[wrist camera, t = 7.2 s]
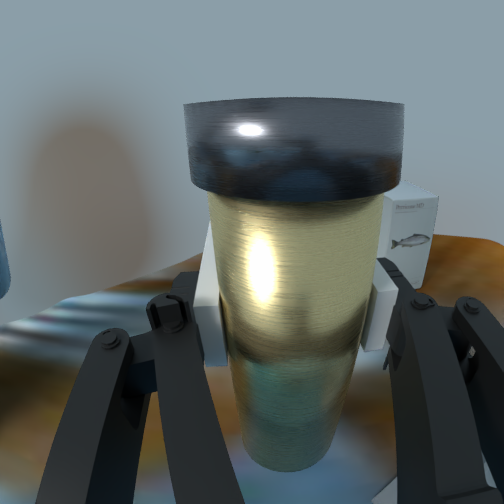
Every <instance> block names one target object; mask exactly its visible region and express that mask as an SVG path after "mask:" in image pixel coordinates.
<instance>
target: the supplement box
mask: <svg viewBox="0 0 504 504" xmlns="http://www.w3.org/2000/svg"><path fill="white" fill-rule="evenodd" d="M438 200H439V196H437V195H435V194H433V193H431V192H429V191H427V190H425V189H422V188H420V187H418V186H416V185H414V184H411V183H409V182H407V181H400V183H399V185H398V186H396V187H395V188H394V189H392V190H390V191H387V192H385V193H384V202H383V211H382V220H381V229H380V236H379V244H378V251H377V257H376V258H382V257H385V258H387V259H389V260H390V261H392V262H393V263H395V265H396V266H397V267H398V269H399V271H401V272H402V274H403V275H404V276H405V278H406V279H407V280H408V281H409V283H410V284H411V285H412V287H413V288H414V289H417V288H421V286H422V282H423V278H424V274H425V270H426V265H427V261H428V256H429V252H430V247H431V242H432V237H433V231H434V226H435V220H436V214H437V207H438Z"/></svg>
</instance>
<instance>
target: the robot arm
mask: <svg viewBox="0 0 504 504" xmlns="http://www.w3.org/2000/svg"><path fill="white" fill-rule="evenodd" d="M10 281H11V276H10V270H9V264H8V258H7V253H6V248H5V243H4V238H3V233H2V227H1V221H0V299H1V298H3V297H4V296H5V294H6V293H7V292H8V290H9V287H10ZM146 312H147V315H148V318H149V321H150V324H151V328H152V330H151V331H150V332H147V333H144V334H141V335H137V336H133V337H129V335H128V333H127V332H126V331H125V330H123V329H119V328H112V329H107V330H105V331H102V332H101V333H99V334H98V335H97V336H96V337H95V338H94V340H93V341H92V344H91V346H90V348H89V350H88V353H87V355H86V357H85V360H84V362H83V364H82V367H81V369H80V371H79V374H78V376H77V379H76V381H75V384H74V386H73V389H72V391H71V394H70V396H69V399H68V402H67V404H66V407H65V409H64V412H63V415H62V418H61V420H60V423H59V426H58V429H57V432H56V435H55V438H54V441H53V444H52V447H51V450H50V453H49V456H48V460H47V463H46V466H45V470H44V473H43V477H42V480H41V484H40V488H39V491H38V495H37V499H36V503H35V504H133V498H134V490H135V483H136V476H137V470H138V463H139V457H140V451H141V445H142V439H143V433H144V428H145V422H146V417H147V412H148V407H149V401H150V396H151V393H152V392H156V391H158V399H159V407H160V415H161V422H162V429H163V436H164V442H165V448H166V454H167V460H168V465H169V471H170V476H171V481H172V486H173V491H174V496H175V500H176V504H245V502H244V499H243V496H242V494H241V491H240V488H239V485H238V482H237V479H236V476H235V473H234V470H233V467H232V464H231V461H230V458H229V454H228V451H227V448H226V445H225V442H224V438H223V435H222V432H221V428H220V425H219V422H218V418H217V415H216V411H215V408H214V404H213V400H212V397H211V393H210V390H209V386H208V382H207V378H206V374H205V371H204V367H203V366H204V360H205V364H206V367H210V366H227V363H228V348H227V342H226V335H225V328H224V321H223V314H222V307H221V300H220V292H219V286H218V279H217V271H216V263H215V255H214V247H213V238H212V230H211V222H210V223H209V228H208V232H207V237H206V242H205V247H204V252H203V257H202V262H201V267H200V271H196V272H181V273H180V274H179V275H178V276H177V277H176V278H175V279H174V281H173V285H172V289H171V291H170V293H165V294H161V295H158V296H156V297H155V298H153V299H151V301H150V302H149V303H148V304H147V307H146ZM386 338H387V340H388V342H389V344H390V347H389V350H388V354H387V357H386V360H385V362H384V366H383V370H386V367H387V365H388V363H389V371H390V379H391V388H392V397H393V408H394V420H395V434H396V453H397V504H504V328H503V327H502V326H501V325H500V323H499V322H498V321H497V320H496V318H495V317H494V316H493V315H492V314H491V312H490V311H489V310H488V309H487V308H486V307H485V305H484V304H483V303H481V302H480V301H479V300H477V299H475V298H473V297H461V298H459V299H458V300H457V301H456V304H455V307H454V308H453V307H441V306H438V305H437V303H436V301H435V300H434V299H433V298H432V297H430V296H428V295H426V294H424V293H418V292H416V291H415V289H414V288H413V287H412V285H411V284H410V283H409V281H408V280H407V279H406V278H405V276H404V275H403V274H402V272H401V271H399V269H398V267H397V266H396V265H395V263H393V262H392V261H390V260H389V259H387V258H385V257H382V258H376V264H375V270H374V276H373V282H372V288H371V293H370V298H369V303H368V309H367V313H366V318H365V323H364V328H363V332H362V337H361V341H360V343H361V345H362V348H363V350H364V352H368V351H374V350H380V349H383V346H384V343H385V339H386ZM472 346H473V348H474V349H475V351H476V352H475V354H474V356H473V357H472V356H471V355H470V353H469V351H470V349H471V347H472ZM481 451H482V452H481ZM482 453H483V455H484V458H485V460H486V462H487V465H488V467H489V470H490V472H491V475H492V477H493V480H494V482H495V485H496V487H497V488H495V487H491V486H489V485H488V484H487V481H486V477H485V470H484V464H483V458H482Z"/></svg>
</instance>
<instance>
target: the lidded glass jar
mask: <svg viewBox="0 0 504 504" xmlns="http://www.w3.org/2000/svg"><path fill="white" fill-rule="evenodd" d="M184 116H185V126H186V137H187V147H188V157H189V166H190V174H191V181H192V182H193V184H195V185H196V186H197V187H199V188H201V189H203V190H206V191H207V194H208V203H209V212H210V221H211V230H212V238H213V247H214V255H215V263H216V271H217V279H218V286H219V292H220V300H221V307H222V314H223V321H224V328H225V335H226V342H227V348H228V356H229V363H230V369H231V375H232V382H233V388H234V394H235V400H236V406H237V412H238V417H239V423H240V429H241V434H242V440H243V444H244V447H245V449H246V451H247V453H248V454H249V456H250V457H251V458H252V459H253V460H254V461H255V462H256V463H258V464H259V465H261V466H263V467H265V468H267V469H270V470H273V471H278V472H295V471H300V470H303V469H306V468H308V467H311V466H312V465H314V464H316V463H317V462H318V461H319V460H321V459H322V458H323V457H324V455H325V454H326V453H327V451H328V449H329V447H330V445H331V442H332V439H333V436H334V433H335V430H336V427H337V424H338V421H339V418H340V415H341V411H342V408H343V405H344V402H345V398H346V395H347V391H348V388H349V384H350V380H351V377H352V373H353V369H354V365H355V361H356V357H357V353H358V349H359V345H360V341H361V337H362V332H363V328H364V323H365V318H366V313H367V309H368V303H369V298H370V293H371V288H372V282H373V276H374V270H375V264H376V257H377V251H378V244H379V236H380V229H381V220H382V211H383V202H384V193H385V192H387V191H390V190H392V189H394V188H395V187H396V186H398V185H399V183H400V178H401V167H402V151H403V134H404V133H403V132H404V104H400V103H391V102H382V101H370V100H357V99H342V98H314V97H279V98H250V99H234V100H221V101H210V102H200V103H191V104H184Z"/></svg>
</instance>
